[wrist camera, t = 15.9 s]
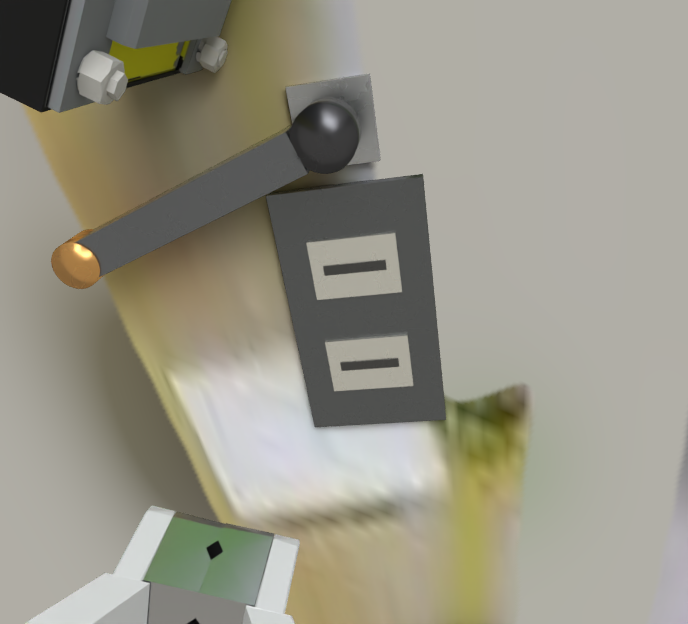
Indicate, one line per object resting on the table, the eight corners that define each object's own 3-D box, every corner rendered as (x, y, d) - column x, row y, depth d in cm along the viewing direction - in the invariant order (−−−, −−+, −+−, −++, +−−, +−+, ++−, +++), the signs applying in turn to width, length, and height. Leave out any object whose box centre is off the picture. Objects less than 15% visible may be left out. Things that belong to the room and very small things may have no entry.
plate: (422, 174, 45) (423, 178, 44) (445, 414, 55) (446, 422, 54) (268, 193, 47) (264, 197, 46) (316, 421, 57) (314, 429, 56)
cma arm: (343, 85, 40) (337, 91, 37) (372, 146, 42) (369, 156, 39) (60, 236, 47) (38, 251, 45) (94, 283, 49) (74, 300, 46)
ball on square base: (369, 73, 42) (367, 77, 40) (380, 159, 45) (378, 167, 43) (287, 86, 43) (279, 91, 41) (302, 169, 46) (295, 178, 44)
